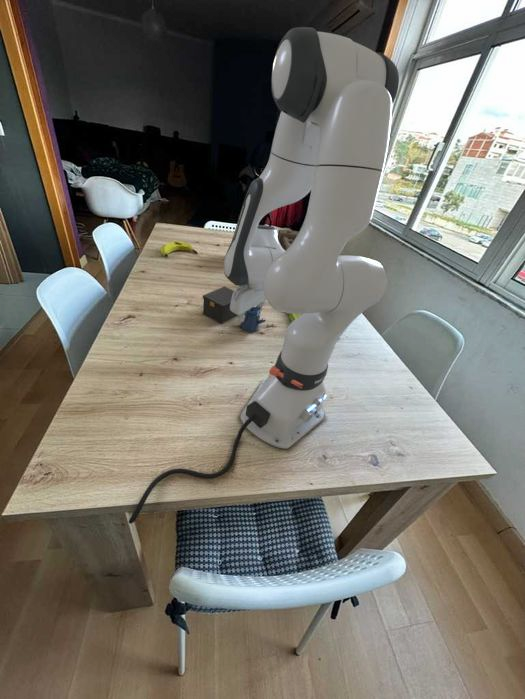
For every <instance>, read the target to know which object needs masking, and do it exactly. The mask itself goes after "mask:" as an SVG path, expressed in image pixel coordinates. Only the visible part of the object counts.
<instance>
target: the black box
mask: <svg viewBox="0 0 525 699" xmlns="http://www.w3.org/2000/svg"><path fill="white" fill-rule="evenodd" d="M234 291H235V290H233V289H231V288H229V287H227V286H222V287H220V288H216V289H215V290H213V291H210V292H208V293H205V294H203V295H202V299H203V306H202V314H203V315H205V316H207V317H208V318H210V319H212V320H214V321H216V322H218V323H219V324H225V323H226V322H228V321H229V320H232V319H233V318H235V317H237V316H238V315H237V314H235V313H233V312H231V310H230V304H231V299H232V295H233V292H234Z"/></svg>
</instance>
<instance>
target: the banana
mask: <svg viewBox="0 0 525 699" xmlns="http://www.w3.org/2000/svg"><path fill="white" fill-rule="evenodd" d="M175 251H190V252H193V253H194V254H196V255H198V251H197V250H195V249H194V247H193V246H192V245H190V244H189V243H187V242H185V241H181V240H180V241H179V240H176V241H170V242H168V243H166V244H164V245H163V246H161V247H160V253H161V254H162V255H163V257H164V258H165V257H166V258H167V257H168V255H169V254H170V253H171V252H175Z"/></svg>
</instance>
